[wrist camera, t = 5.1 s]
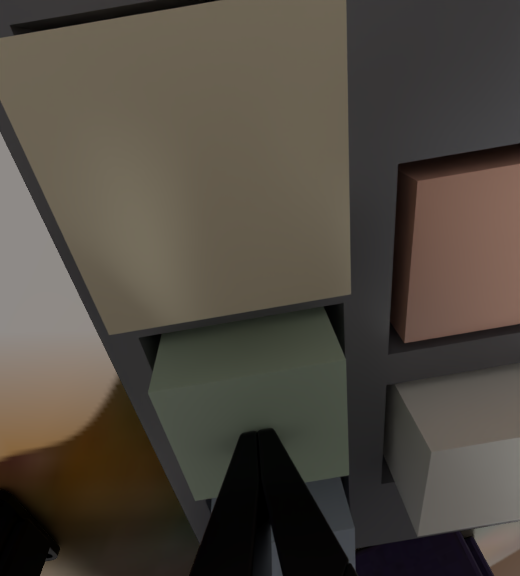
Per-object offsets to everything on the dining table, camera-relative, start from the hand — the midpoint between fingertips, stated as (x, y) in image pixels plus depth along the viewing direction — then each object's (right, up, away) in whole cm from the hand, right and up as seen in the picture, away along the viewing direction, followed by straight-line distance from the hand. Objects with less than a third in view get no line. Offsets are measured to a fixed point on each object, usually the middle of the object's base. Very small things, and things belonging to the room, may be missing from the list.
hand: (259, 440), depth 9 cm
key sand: (-1, +7, -1) cm, 7 cm away
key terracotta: (+6, +6, +2) cm, 8 cm away
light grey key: (+7, 0, +4) cm, 8 cm away
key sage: (0, +2, +3) cm, 3 cm away
